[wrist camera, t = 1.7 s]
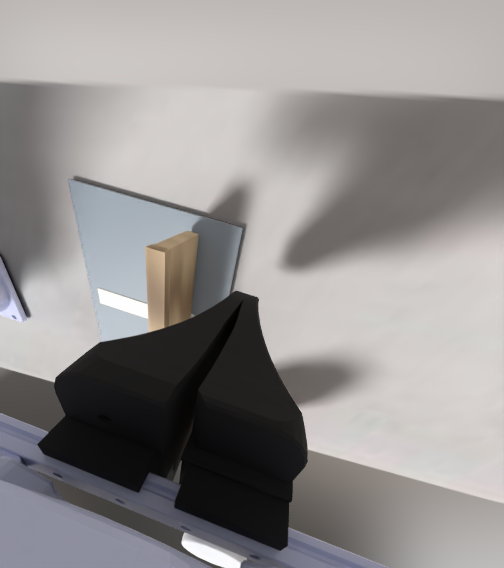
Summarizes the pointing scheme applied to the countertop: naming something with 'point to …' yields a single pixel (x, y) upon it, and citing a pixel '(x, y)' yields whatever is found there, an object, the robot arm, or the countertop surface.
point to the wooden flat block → (170, 279)
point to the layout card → (131, 254)
